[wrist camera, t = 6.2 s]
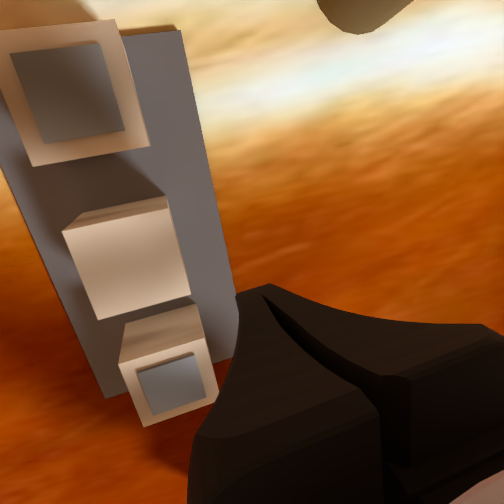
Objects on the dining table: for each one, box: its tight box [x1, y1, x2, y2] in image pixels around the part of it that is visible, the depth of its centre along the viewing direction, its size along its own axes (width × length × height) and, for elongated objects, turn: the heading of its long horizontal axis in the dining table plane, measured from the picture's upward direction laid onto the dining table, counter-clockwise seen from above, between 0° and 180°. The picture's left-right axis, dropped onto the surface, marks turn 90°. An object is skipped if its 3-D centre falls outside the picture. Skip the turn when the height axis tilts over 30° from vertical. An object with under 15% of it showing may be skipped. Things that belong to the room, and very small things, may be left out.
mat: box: [0, 30, 239, 399], centre depth 18 cm, size 20×10×1 cm, turn 10°
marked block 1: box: [0, 19, 151, 167], centre depth 14 cm, size 4×4×4 cm
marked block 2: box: [118, 304, 219, 427], centre depth 19 cm, size 4×4×4 cm
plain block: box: [62, 195, 191, 320], centre depth 16 cm, size 4×4×4 cm
